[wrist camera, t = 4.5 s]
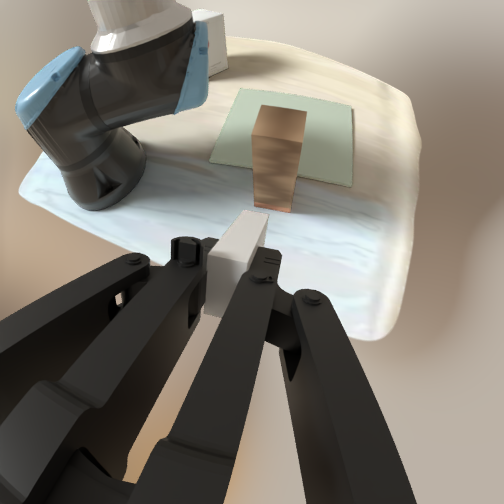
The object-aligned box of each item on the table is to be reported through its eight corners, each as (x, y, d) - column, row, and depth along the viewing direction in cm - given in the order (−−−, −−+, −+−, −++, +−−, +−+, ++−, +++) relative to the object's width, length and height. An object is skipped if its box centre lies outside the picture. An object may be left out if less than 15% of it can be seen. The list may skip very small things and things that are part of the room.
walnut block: (254, 206, 38) (251, 134, 25) (261, 178, 40) (261, 104, 27) (289, 212, 38) (302, 142, 25) (294, 183, 39) (307, 111, 26)
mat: (209, 162, 41) (208, 160, 41) (240, 90, 48) (240, 88, 48) (351, 187, 39) (352, 185, 39) (350, 108, 46) (351, 106, 45)
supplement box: (196, 84, 50) (185, 26, 36) (175, 72, 52) (163, 20, 39) (229, 68, 52) (224, 12, 38) (207, 57, 55) (199, 7, 41)
